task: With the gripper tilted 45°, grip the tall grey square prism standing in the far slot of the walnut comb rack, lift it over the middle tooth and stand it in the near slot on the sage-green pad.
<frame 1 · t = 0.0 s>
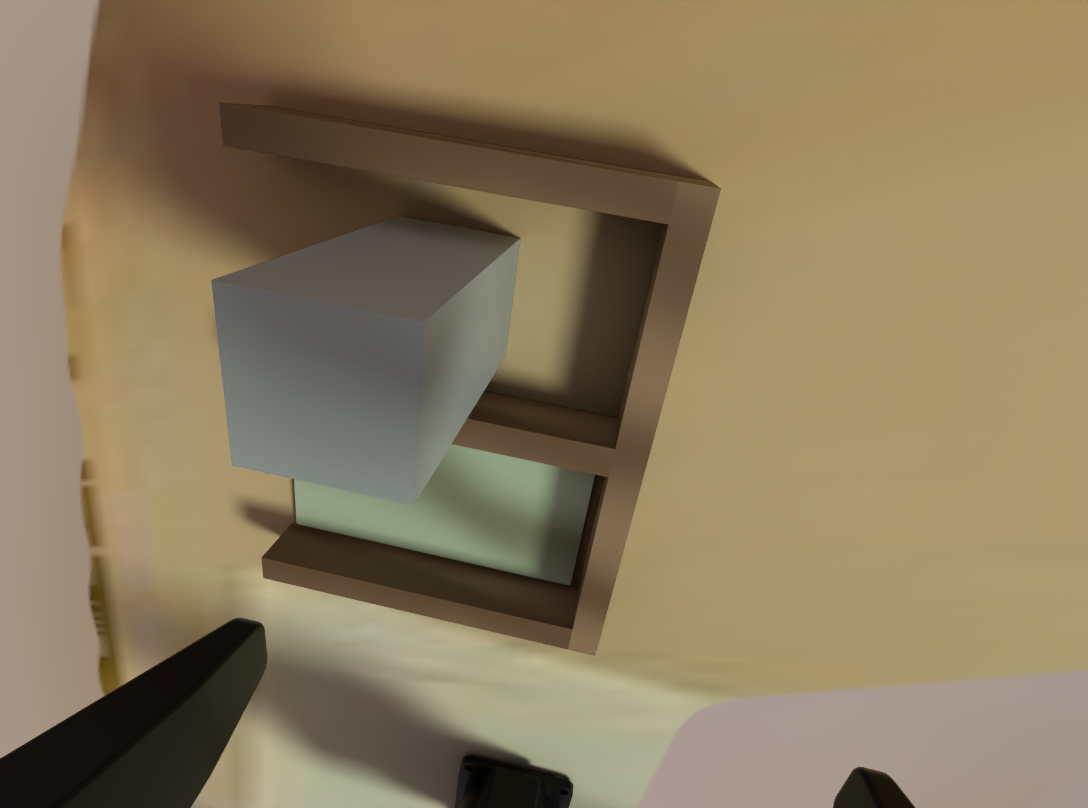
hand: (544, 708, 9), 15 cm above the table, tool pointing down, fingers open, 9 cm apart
tall grey square prism: (454, 288, 21), resting in comb rack
comb rack: (445, 396, 23), on the table
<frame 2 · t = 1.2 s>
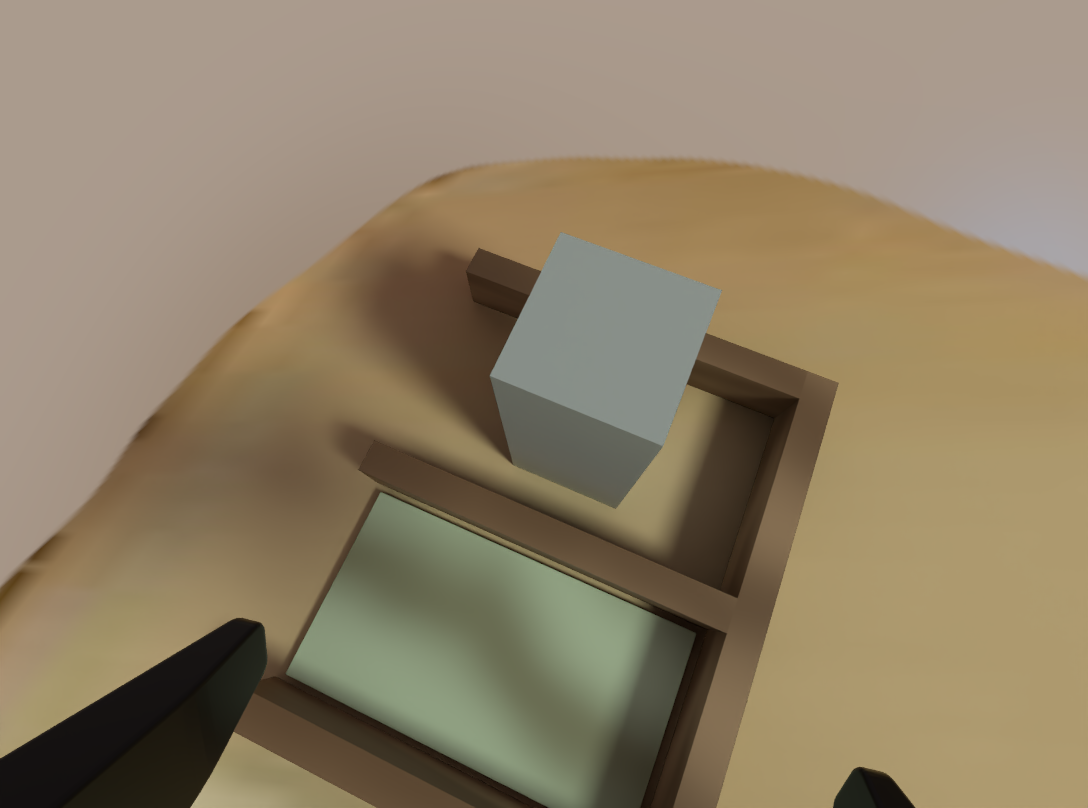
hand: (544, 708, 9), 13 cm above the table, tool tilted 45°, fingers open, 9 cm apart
tall grey square prism: (584, 437, 24), resting in comb rack
comb rack: (541, 538, 23), on the table
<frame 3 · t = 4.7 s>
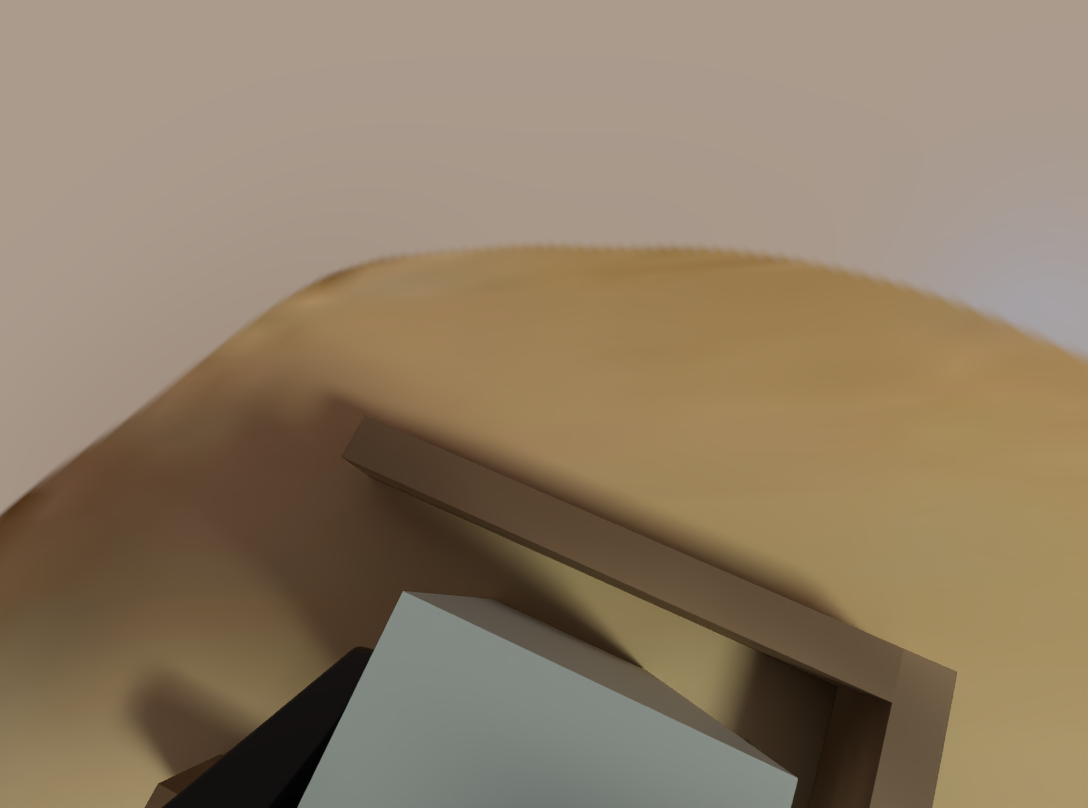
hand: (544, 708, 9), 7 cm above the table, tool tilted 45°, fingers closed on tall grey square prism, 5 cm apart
tall grey square prism: (534, 719, 15), resting in comb rack, touching gripper
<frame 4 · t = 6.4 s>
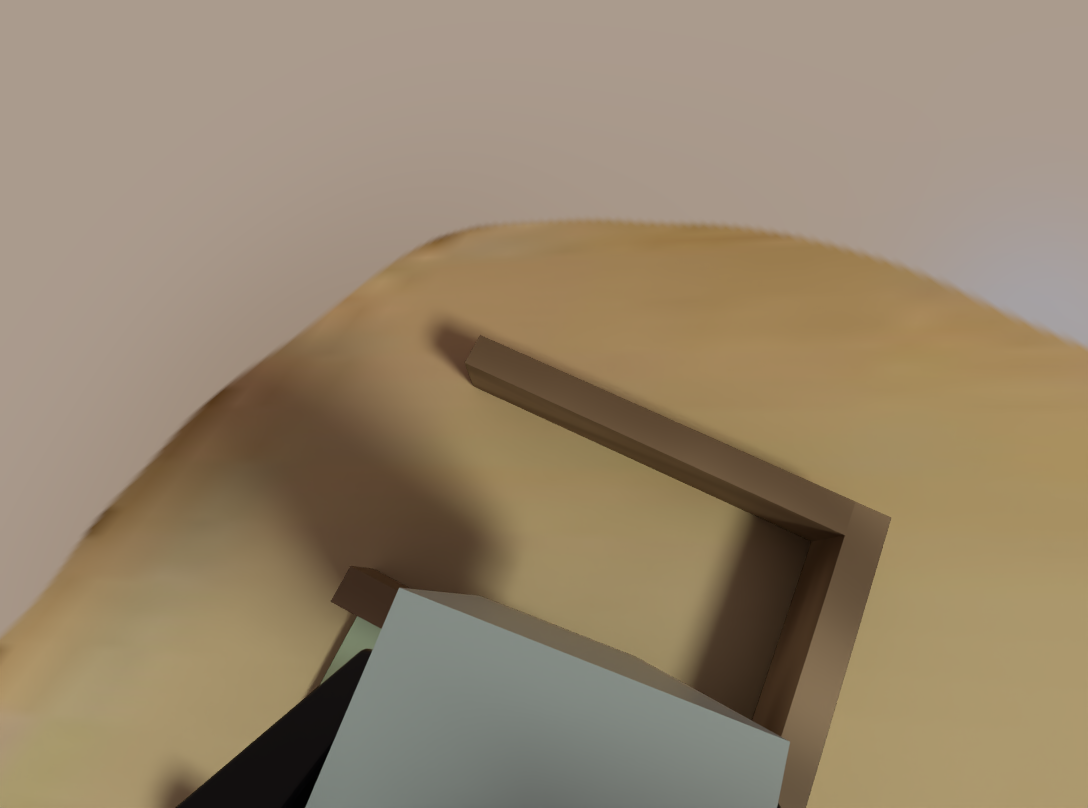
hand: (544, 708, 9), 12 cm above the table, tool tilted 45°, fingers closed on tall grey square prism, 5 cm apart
tall grey square prism: (527, 712, 15), point 5 cm above the table, touching gripper
comb rack: (539, 677, 20), on the table
when the fingers open (8 cm above the table, at t = 8.3 s): tall grey square prism stays where it is, resting on comb rack.
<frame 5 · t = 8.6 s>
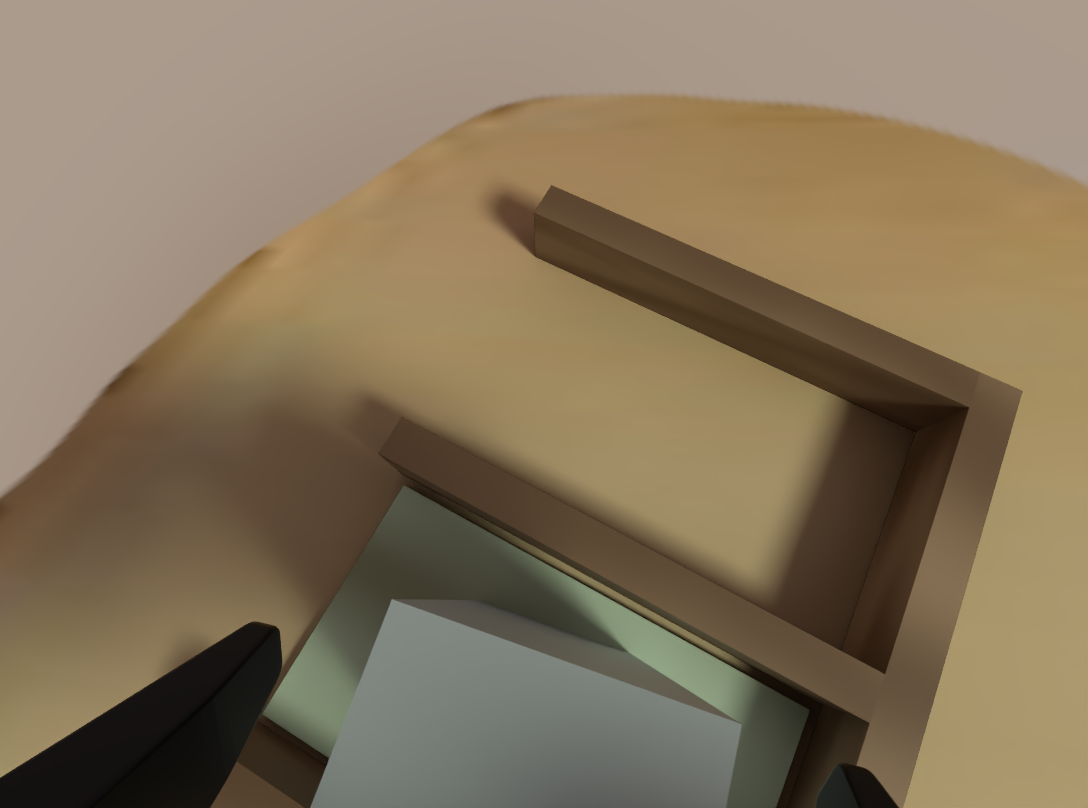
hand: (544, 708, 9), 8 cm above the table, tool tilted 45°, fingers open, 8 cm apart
tall grey square prism: (528, 709, 16), resting on comb rack
comb rack: (606, 563, 17), on the table
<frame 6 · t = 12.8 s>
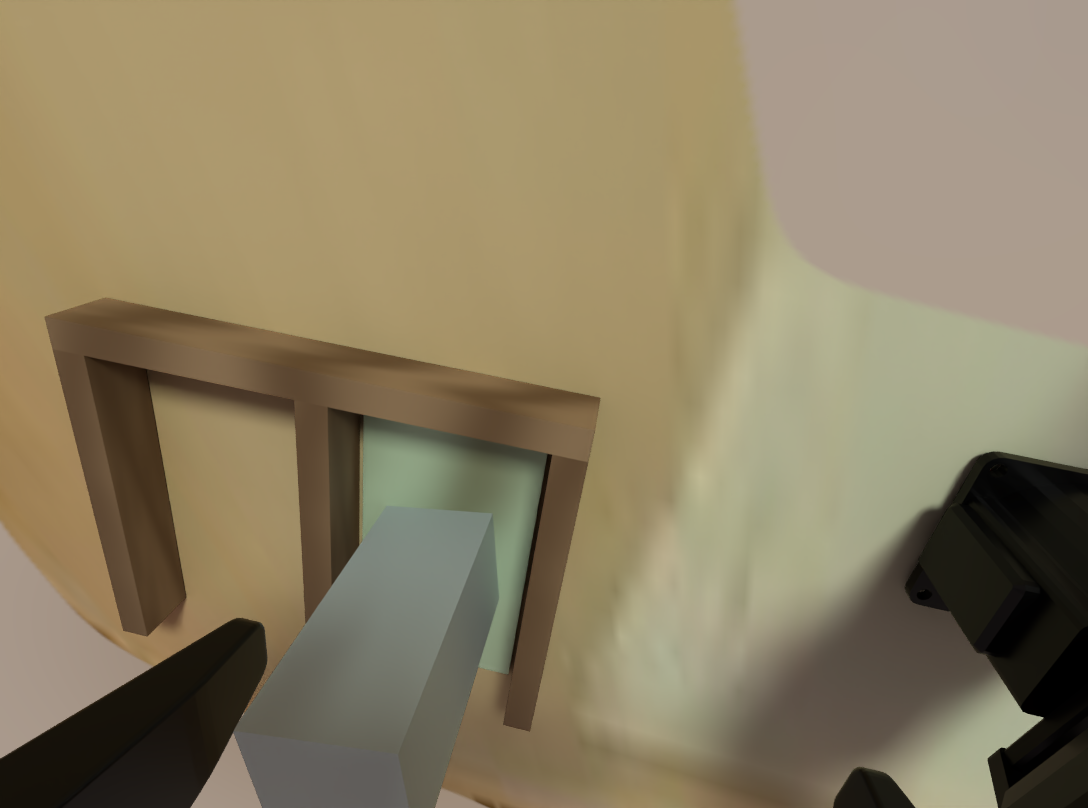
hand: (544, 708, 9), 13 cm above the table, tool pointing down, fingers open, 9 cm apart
tall grey square prism: (444, 553, 24), resting on comb rack
comb rack: (345, 522, 25), on the table
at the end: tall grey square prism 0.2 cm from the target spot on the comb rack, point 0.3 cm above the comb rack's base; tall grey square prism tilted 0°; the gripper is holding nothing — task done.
